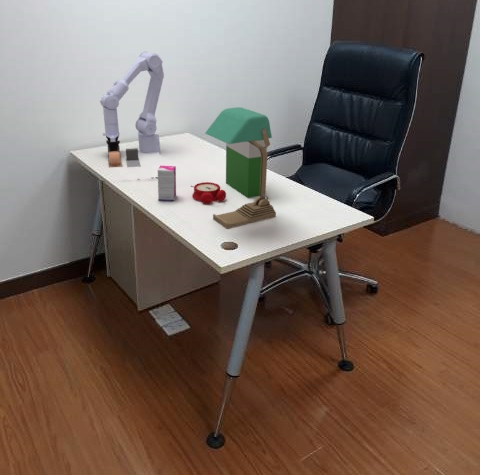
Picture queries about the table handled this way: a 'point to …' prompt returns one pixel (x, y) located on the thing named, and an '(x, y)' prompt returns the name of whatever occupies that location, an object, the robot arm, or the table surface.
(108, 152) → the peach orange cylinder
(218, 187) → the alarm clock
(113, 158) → the terracotta canister
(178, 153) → the table surface
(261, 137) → the banker's lamp
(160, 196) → the supplement box
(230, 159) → the hardback book
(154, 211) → the table surface
